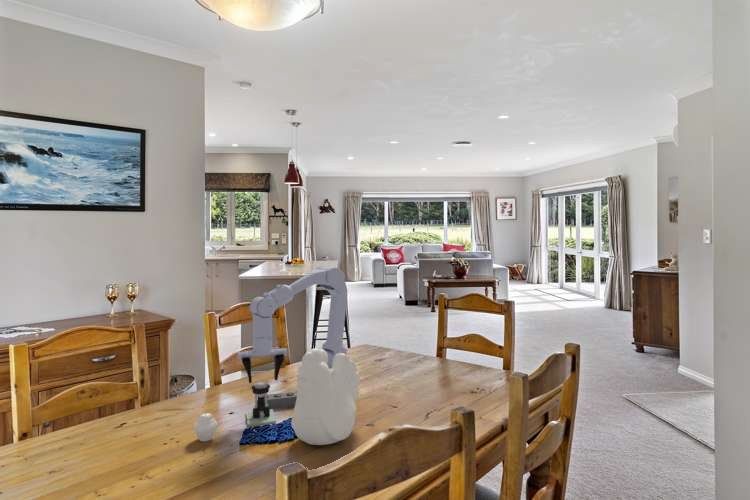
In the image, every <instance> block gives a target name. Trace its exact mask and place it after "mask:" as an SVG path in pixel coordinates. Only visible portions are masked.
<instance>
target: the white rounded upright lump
mask: <svg viewBox="0 0 750 500" xmlns="http://www.w3.org/2000/svg"><path fill="white" fill-rule="evenodd" d="M327 361H328V355H327V352H326V351H325V350H323V349H322V348H317V347H315V348H311V349H310V350H308V352H306V353H304V355H303V356H302V359H301V364H299V367H298V368H297V369H298V370H297V375H296V379H297V399H296V404H295V406H294V408H293V414H292V418H291V428H292V429H293V430H294V434H295V436H296V437H297V438H298V439H299V440H301V441H303V442H305V443H306V444H308V445H311V446H312V445H313V446H314V445H315V446H316V445H317V446H325V445H331V444H334V443H339V442H340V441H343V440H345V439H347V438H348V437H349V436H350V435H351V433H352V430H353V428H354V426H355V421H356V412H357V407H356V402H357V400H358V397H359V392H360V391H359V390H360V388H359V385H360V374H359V373H358V372H357V371H358V368H357V366H356V362H355V361H354V360H352V359H351V357H350V356H349V355H348V354H347V355H346V354H343V353H338V354H336V355H335V356H334V359H333V364H332V368H330V369H329V367H328V365H327Z"/></svg>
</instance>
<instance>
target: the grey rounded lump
mask: <svg viewBox="0 0 750 500" xmlns="http://www.w3.org/2000/svg"><path fill="white" fill-rule="evenodd" d="M193 425H194V426H193V430H194V433H195V435H196V436H197V438H198V440H199V441H201V442H208V441H211V440H213V438H214V436H215V434H216V431H217V429H218V427H219V423H218V421H217V420H216V419H215V418H214V416H213V414H211V413H210V412H209V413H208V412H207V413H206V412H205V413H202V414H200V415H199V416H198V420H197V421H196V422H195V423H194V424H193Z"/></svg>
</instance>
